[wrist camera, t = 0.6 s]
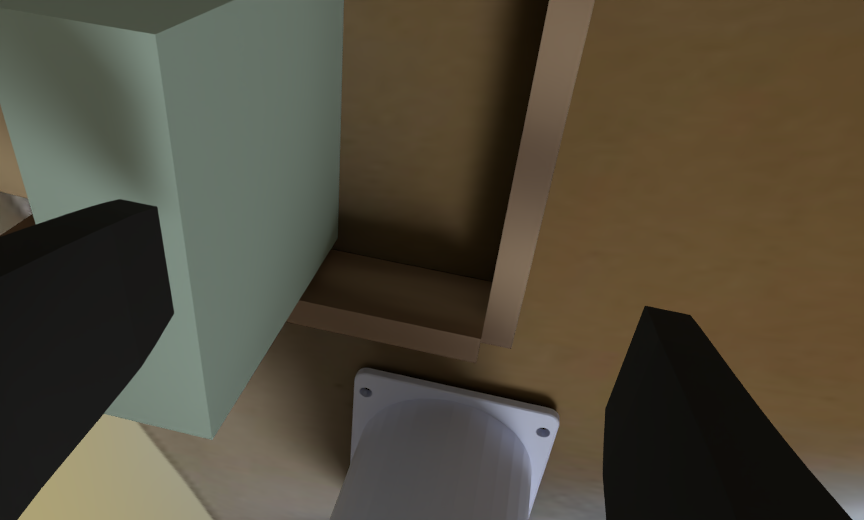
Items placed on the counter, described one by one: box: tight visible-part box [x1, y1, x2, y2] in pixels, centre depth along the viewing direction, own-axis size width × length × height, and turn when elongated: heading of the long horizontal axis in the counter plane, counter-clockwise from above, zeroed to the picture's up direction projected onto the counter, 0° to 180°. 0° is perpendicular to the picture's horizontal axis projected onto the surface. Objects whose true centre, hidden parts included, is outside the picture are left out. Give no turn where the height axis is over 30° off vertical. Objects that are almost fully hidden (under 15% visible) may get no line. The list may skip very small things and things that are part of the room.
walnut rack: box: [0, 0, 595, 363], centre depth 18 cm, size 12×17×3 cm
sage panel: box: [0, 0, 344, 440], centre depth 15 cm, size 9×3×9 cm, turn 174°
